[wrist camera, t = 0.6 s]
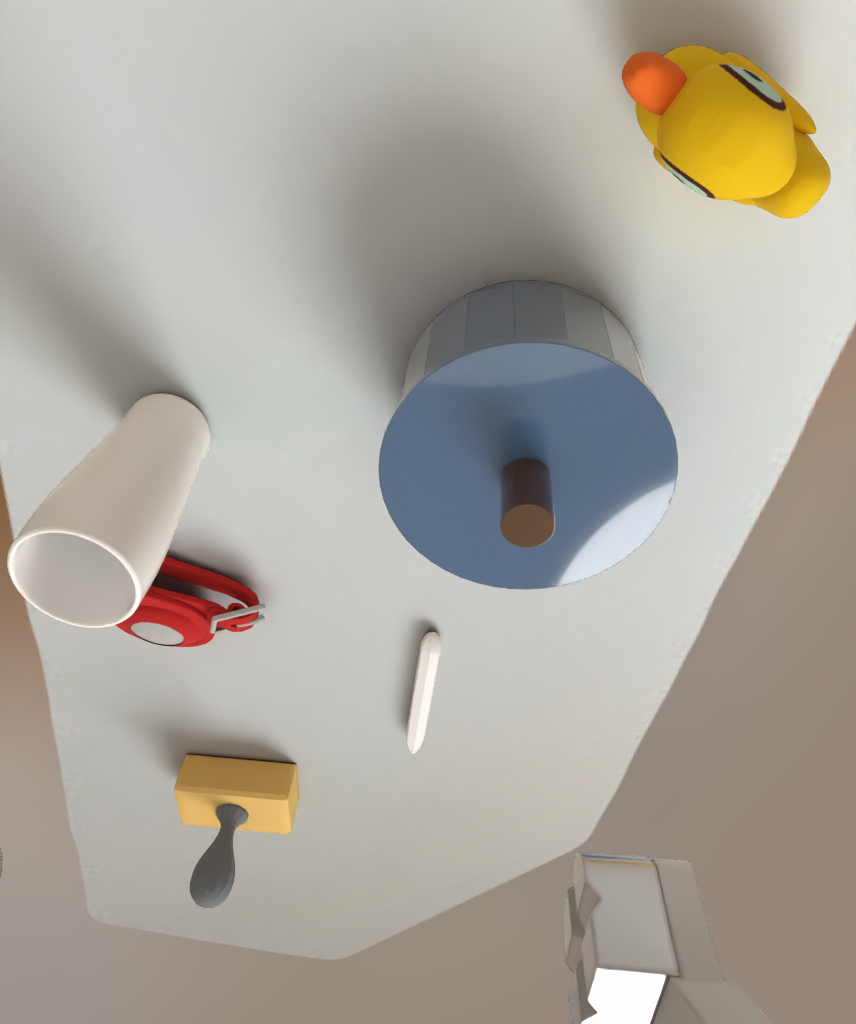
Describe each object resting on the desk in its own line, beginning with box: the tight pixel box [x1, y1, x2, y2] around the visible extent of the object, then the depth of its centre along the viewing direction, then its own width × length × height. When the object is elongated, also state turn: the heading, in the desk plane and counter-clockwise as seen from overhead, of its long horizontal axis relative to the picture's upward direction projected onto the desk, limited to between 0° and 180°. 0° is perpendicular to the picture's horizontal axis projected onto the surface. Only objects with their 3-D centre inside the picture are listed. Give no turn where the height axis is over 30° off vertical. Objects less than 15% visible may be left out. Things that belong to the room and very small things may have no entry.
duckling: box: [622, 45, 831, 218], centre depth 35 cm, size 11×5×10 cm, turn 59°
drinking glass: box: [7, 393, 211, 628], centre depth 46 cm, size 7×7×15 cm
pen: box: [407, 632, 441, 754], centre depth 65 cm, size 2×14×2 cm, turn 173°
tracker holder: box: [115, 556, 265, 647], centre depth 59 cm, size 12×4×10 cm
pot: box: [400, 281, 649, 400], centre depth 45 cm, size 14×14×8 cm
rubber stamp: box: [174, 755, 299, 908], centre depth 69 cm, size 10×6×12 cm, turn 87°
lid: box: [379, 337, 678, 589], centre depth 40 cm, size 15×15×5 cm
